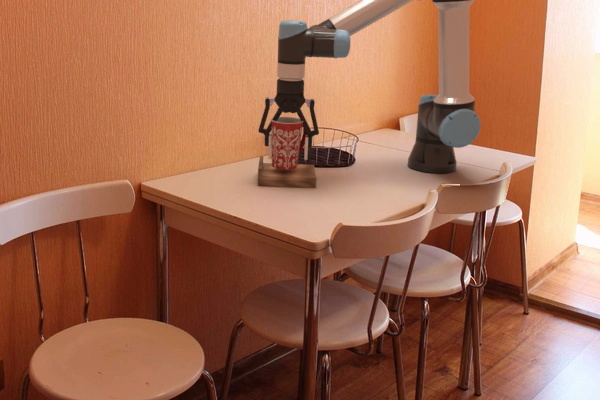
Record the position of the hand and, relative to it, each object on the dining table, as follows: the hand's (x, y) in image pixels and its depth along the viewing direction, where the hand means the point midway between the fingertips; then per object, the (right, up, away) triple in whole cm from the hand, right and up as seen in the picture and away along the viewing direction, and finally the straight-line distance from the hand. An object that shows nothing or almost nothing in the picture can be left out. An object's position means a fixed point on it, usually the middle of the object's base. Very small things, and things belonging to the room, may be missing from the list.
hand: (287, 158), depth 198 cm
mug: (0, -2, +1) cm, 3 cm away
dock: (0, -6, +2) cm, 6 cm away
